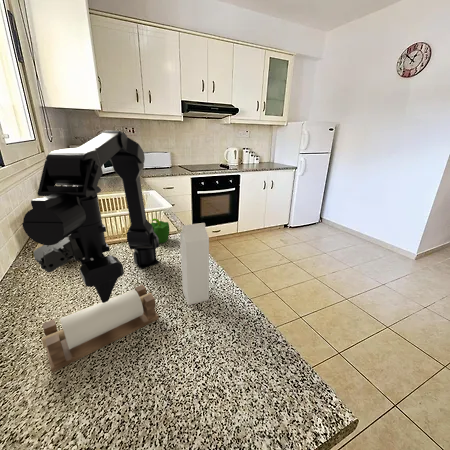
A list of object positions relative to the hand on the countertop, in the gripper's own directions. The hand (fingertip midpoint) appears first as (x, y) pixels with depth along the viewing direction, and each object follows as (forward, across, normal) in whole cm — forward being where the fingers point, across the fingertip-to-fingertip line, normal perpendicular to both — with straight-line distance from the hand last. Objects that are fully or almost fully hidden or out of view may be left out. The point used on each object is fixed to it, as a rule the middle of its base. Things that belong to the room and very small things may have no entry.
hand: (98, 290), depth 50 cm
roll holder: (+12, 0, 0) cm, 12 cm away
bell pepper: (+12, -37, +32) cm, 50 cm away
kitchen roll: (+7, 0, 0) cm, 7 cm away
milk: (+12, +2, +23) cm, 26 cm away
